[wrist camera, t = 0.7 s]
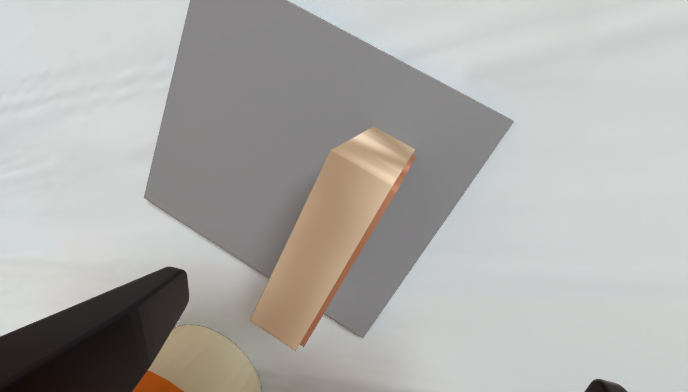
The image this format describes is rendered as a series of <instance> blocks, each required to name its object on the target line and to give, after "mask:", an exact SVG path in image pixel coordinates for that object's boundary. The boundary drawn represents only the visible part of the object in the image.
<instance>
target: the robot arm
mask: <svg viewBox="0 0 688 392" xmlns="http://www.w3.org/2000/svg"><path fill="white" fill-rule="evenodd" d="M188 300H189V289H188V280H187V273H186V272H185V271H184V270H182V269H178V268H174V267H165V268H163V269H160V270H158V271H156V272H153V273H151V274H148V275H146V276H144V277H141V278H139V279H137V280H134V281H132V282H129V283H127V284H125V285H122V286H120V287H117V288H115V289H113V290H110V291H108V292H106V293H103V294H101V295H98V296H96V297H94V298H91V299H89V300H86V301H84V302H82V303H79V304H77V305H75V306H72V307H70V308H67V309H65V310H63V311H60V312H58V313H56V314H53V315H51V316H48V317H46V318H44V319H41V320H39V321H36V322H34V323H32V324H29V325H27V326H25V327H22V328H20V329H17V330H15V331H13V332H10V333H8V334H5V335H3V336H1V337H0V392H132V391H133V390H134V389H135V387H136V386H137V385H138V383H139V382H140V380H141V379H142V378H143V376H144V375H145V373H146V372H147V371H148V369H149V368H150V366H151V365H152V363H153V362H154V360H155V358H156V357H157V355H158V353H159V352H160V350H161V348H162V347H163V345H164V343H165V342H166V340H167V338H168V337H169V335H170V333H171V331H172V330H173V328H174V326H175V325H176V323H177V321H178V320H179V318H180V316H181V315H182V313H183V311H184V310H185V308H186V306H187V304H188ZM585 392H627V391H626V390H625V389H624V388H623V387H622V386H620V385H619V384H616V383H613V382H609V381H605V380H601V379H596V380H593V381H592V382H591V384H590V385H589V386H588V388H587V389H586V390H585Z"/></svg>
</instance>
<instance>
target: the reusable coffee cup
mask: <svg viewBox="0 0 688 392" xmlns="http://www.w3.org/2000/svg"><path fill="white" fill-rule="evenodd" d="M132 392H261V385H260V381H259V377H258V375H257V373H256V371H255V368H254V367H253V365H252V364H251V362H250V361H249V359H248V358H247V356H246V355H245V354H244V353H243V352H242V351H241V350H240V348H238V347H237V346H236V345H235V344H234V343H233V342H232V341H230V340H229V339H227V338H226V337H224V336H223V335H221V334H220V333H218V332H216V331H214V330H211V329H209V328H206V327H202V326H198V325H182V326H178V327H176V328H173V330H172V331H171V333H170V335H169V337H168V338H167V340H166V342H165V343H164V345H163V347H162V348H161V350H160V352H159V353H158V355H157V357H156V358H155V360H154V362H153V363H152V365H151V366H150V368H149V369H148V371H147V372H146V373H145V375H144V376H143V378H142V379H141V380H140V382H139V383H138V385H137V386H136V387H135V389H134V390H133V391H132Z"/></svg>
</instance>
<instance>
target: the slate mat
mask: <svg viewBox="0 0 688 392" xmlns="http://www.w3.org/2000/svg"><path fill="white" fill-rule="evenodd" d="M513 122H514V121H513V120H511V119H509V118H507V117H505V116H504V115H502V114H500V113H498V112H496V111H494V110H492V109H490V108H489V107H487V106H485V105H483V104H481V103H479V102H477V101H475V100H473V99H472V98H470V97H468V96H466V95H464V94H462V93H460V92H458V91H456V90H455V89H453V88H451V87H449V86H447V85H445V84H443V83H441V82H440V81H438V80H436V79H434V78H432V77H430V76H428V75H426V74H424V73H423V72H421V71H419V70H417V69H415V68H413V67H411V66H409V65H407V64H406V63H404V62H402V61H400V60H398V59H396V58H394V57H392V56H391V55H389V54H387V53H385V52H383V51H381V50H379V49H377V48H375V47H374V46H372V45H370V44H368V43H366V42H364V41H362V40H360V39H358V38H357V37H355V36H353V35H351V34H349V33H347V32H345V31H343V30H342V29H340V28H338V27H336V26H334V25H332V24H330V23H328V22H326V21H325V20H323V19H321V18H319V17H317V16H315V15H313V14H311V13H309V12H308V11H306V10H304V9H302V8H300V7H298V6H296V5H294V4H293V3H291V2H289V1H287V0H190V3H189V8H188V12H187V16H186V20H185V25H184V29H183V33H182V38H181V42H180V46H179V50H178V55H177V59H176V63H175V67H174V72H173V76H172V80H171V84H170V89H169V93H168V97H167V101H166V106H165V110H164V114H163V118H162V123H161V127H160V131H159V135H158V140H157V144H156V148H155V152H154V157H153V161H152V165H151V169H150V174H149V178H148V182H147V186H146V191H145V195H144V198H145V199H147V200H148V201H150V202H151V203H153V204H154V205H156V206H157V207H159V208H161V209H162V210H164V211H165V212H167V213H168V214H170V215H171V216H173V217H175V218H176V219H178V220H179V221H181V222H182V223H184V224H185V225H187V226H189V227H190V228H192V229H193V230H195V231H196V232H198V233H200V234H201V235H203V236H204V237H206V238H207V239H209V240H210V241H212V242H214V243H215V244H217V245H218V246H220V247H221V248H223V249H224V250H226V251H228V252H229V253H231V254H232V255H234V256H235V257H237V258H238V259H240V260H242V261H243V262H245V263H246V264H248V265H249V266H251V267H252V268H254V269H256V270H257V271H259V272H260V273H262V274H263V275H265V276H266V277H268V278H270V277H271V275H272V273H273V271H274V269H275V267H276V264H277V262H278V260H279V258H280V256H281V254H282V252H283V250H284V248H285V245H286V243H287V241H288V239H289V237H290V235H291V233H292V231H293V229H294V226H295V224H296V222H297V220H298V218H299V216H300V214H301V212H302V210H303V208H304V205H305V203H306V201H307V199H308V197H309V195H310V193H311V191H312V189H313V186H314V184H315V182H316V180H317V178H318V176H319V174H320V172H321V170H322V167H323V165H324V163H325V161H326V159H327V157H328V155H329V153H330V151H331V150H332V149H334V148H336V147H337V146H339V145H341V144H343V143H345V142H346V141H348V140H350V139H352V138H354V137H355V136H357V135H359V134H361V133H363V132H364V131H366V130H368V129H370V128H372V127H373V126H374V127H376V128H378V129H380V130H381V131H383V132H385V133H387V134H389V135H390V136H392V137H394V138H396V139H398V140H399V141H401V142H403V143H405V144H406V145H408V146H410V147H412V148H414V149H415V151H414V153H413V155H415V156H416V158H415V160H414V162H413V163H412V165H411V167H410V169H409V171H408V172H407V174H406V176H405V178H404V179H403V181H402V183H401V185H400V186H399V188H398V190H397V192H396V193H395V195H394V197H393V198H392V200H391V202H390V204H389V205H388V207H387V209H386V210H385V212H384V214H383V215H382V217H381V219H380V220H379V222H378V224H377V225H376V227H375V229H374V230H373V232H372V234H371V235H370V237H369V239H368V240H367V242H366V244H365V245H364V247H363V249H362V250H361V252H360V254H359V255H358V257H357V259H356V260H355V262H354V264H353V265H352V267H351V269H350V270H349V272H348V274H347V275H346V277H345V279H344V280H343V282H342V284H341V285H340V287H339V289H338V291H337V292H336V294H335V296H334V297H333V299H332V301H331V302H330V304H329V306H328V307H327V309H326V311H325V312H324V314H326V315H327V316H329V317H330V318H332V319H333V320H335V321H336V322H338V323H340V324H341V325H343V326H344V327H346V328H347V329H349V330H350V331H352V332H354V333H355V334H357V335H358V336H360V337H361V338H363V337H364V336H365V335H366V333H367V332H368V330H369V329H370V327H371V326H372V325H373V323H374V322H375V320H376V319H377V317H378V316H379V314H380V313H381V312H382V310H383V309H384V307H385V306H386V304H387V303H388V302H389V300H390V299H391V297H392V296H393V294H394V293H395V292H396V290H397V289H398V287H399V286H400V284H401V283H402V281H403V280H404V279H405V277H406V276H407V274H408V273H409V271H410V270H411V269H412V267H413V266H414V264H415V263H416V261H417V260H418V258H419V257H420V256H421V254H422V253H423V251H424V250H425V248H426V247H427V246H428V244H429V243H430V241H431V240H432V238H433V237H434V236H435V234H436V233H437V231H438V230H439V228H440V227H441V225H442V224H443V223H444V221H445V220H446V218H447V217H448V215H449V214H450V213H451V211H452V210H453V208H454V207H455V205H456V204H457V203H458V201H459V200H460V198H461V197H462V195H463V194H464V192H465V191H466V190H467V188H468V187H469V185H470V184H471V182H472V181H473V180H474V178H475V177H476V175H477V174H478V172H479V171H480V169H481V168H482V167H483V165H484V164H485V162H486V161H487V159H488V158H489V157H490V155H491V154H492V152H493V151H494V149H495V148H496V147H497V145H498V144H499V142H500V141H501V139H502V138H503V136H504V135H505V134H506V132H507V131H508V129H509V128H510V126H511V125H512V124H513Z"/></svg>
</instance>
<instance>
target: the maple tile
mask: <svg viewBox="0 0 688 392" xmlns="http://www.w3.org/2000/svg"><path fill="white" fill-rule="evenodd" d="M414 151H415V149H414V148H412V147H410V146H408V145H406V144H405V143H403V142H401V141H399V140H398V139H396V138H394V137H392V136H390V135H389V134H387V133H385V132H383V131H381V130H380V129H378V128H376V127H374V126H373V127H372V128H370V129H368V130H366V131H364V132H363V133H361V134H359V135H357V136H355V137H354V138H352V139H350V140H348V141H346V142H345V143H343V144H341V145H339V146H337V147H336V148H334V149H332V150H331V151H330V153H329V155H328V157H327V159H326V161H325V163H324V165H323V167H322V170H321V172H320V174H319V176H318V178H317V180H316V182H315V184H314V186H313V189H312V191H311V193H310V195H309V197H308V199H307V201H306V203H305V205H304V208H303V210H302V212H301V214H300V216H299V218H298V220H297V222H296V224H295V226H294V229H293V231H292V233H291V235H290V237H289V239H288V241H287V243H286V245H285V248H284V250H283V252H282V254H281V256H280V258H279V260H278V262H277V264H276V267H275V269H274V271H273V273H272V275H271V277H270V279H269V281H268V283H267V286H266V288H265V290H264V292H263V294H262V296H261V298H260V300H259V302H258V305H257V307H256V309H255V311H254V313H253V315H252V317H251V319H250V321H251V322H253V323H254V324H256V325H257V326H259V327H260V328H262V329H263V330H265V331H266V332H268V333H269V334H271V335H272V336H274V337H275V338H277V339H278V340H280V341H281V342H283V343H284V344H286V345H287V346H289V347H290V348H292V349H293V350H295V351H296V349H297V348H298V346H299V344H300V345H301V346H303V347H304V346H305V344H306V342H307V341H308V339H309V337H310V336H311V334H312V332H313V331H314V329H315V327H316V326H317V324H318V322H319V321H320V319H321V317H322V316H323V314H324V312H325V311H326V309H327V307H328V306H329V304H330V302H331V301H332V299H333V297H334V296H335V294H336V292H337V291H338V289H339V287H340V285H341V284H342V282H343V280H344V279H345V277H346V275H347V274H348V272H349V270H350V269H351V267H352V265H353V264H354V262H355V260H356V259H357V257H358V255H359V254H360V252H361V250H362V249H363V247H364V245H365V244H366V242H367V240H368V239H369V237H370V235H371V234H372V232H373V230H374V229H375V227H376V225H377V224H378V222H379V220H380V219H381V217H382V215H383V214H384V212H385V210H386V209H387V207H388V205H389V204H390V202H391V200H392V198H393V197H394V195H395V193H396V192H397V190H398V188H399V186H400V185H401V183H402V181H403V179H404V178H405V176H406V174H407V172H408V171H409V169H410V167H411V165H412V163H413V162H414V160H415V158H416V156H415V155H413V153H414Z"/></svg>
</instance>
